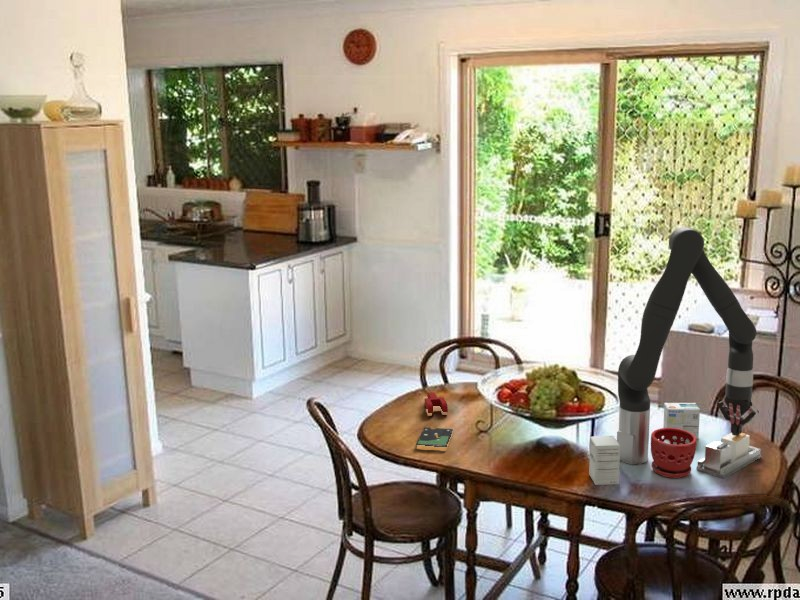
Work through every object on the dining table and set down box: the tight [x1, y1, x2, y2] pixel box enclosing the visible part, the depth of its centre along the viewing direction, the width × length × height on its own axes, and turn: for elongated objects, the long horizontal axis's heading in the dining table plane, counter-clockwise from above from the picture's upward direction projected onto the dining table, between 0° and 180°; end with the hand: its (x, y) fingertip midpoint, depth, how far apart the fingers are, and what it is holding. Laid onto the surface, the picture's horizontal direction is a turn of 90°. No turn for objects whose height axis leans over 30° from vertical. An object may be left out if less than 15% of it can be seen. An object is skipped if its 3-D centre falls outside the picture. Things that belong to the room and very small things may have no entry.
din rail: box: [696, 440, 762, 479], centre depth 259 cm, size 22×9×9 cm, turn 130°
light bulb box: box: [662, 402, 701, 440], centre depth 281 cm, size 11×7×11 cm, turn 84°
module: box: [720, 432, 751, 463], centre depth 260 cm, size 8×5×8 cm, turn 130°
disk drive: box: [415, 427, 454, 447], centre depth 283 cm, size 10×3×15 cm
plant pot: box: [650, 427, 698, 479], centre depth 253 cm, size 13×13×12 cm
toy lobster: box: [424, 392, 449, 414], centre depth 312 cm, size 16×7×5 cm, turn 8°
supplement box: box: [588, 435, 620, 486], centre depth 250 cm, size 7×7×13 cm
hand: (736, 434), depth 260 cm, fingers closed
